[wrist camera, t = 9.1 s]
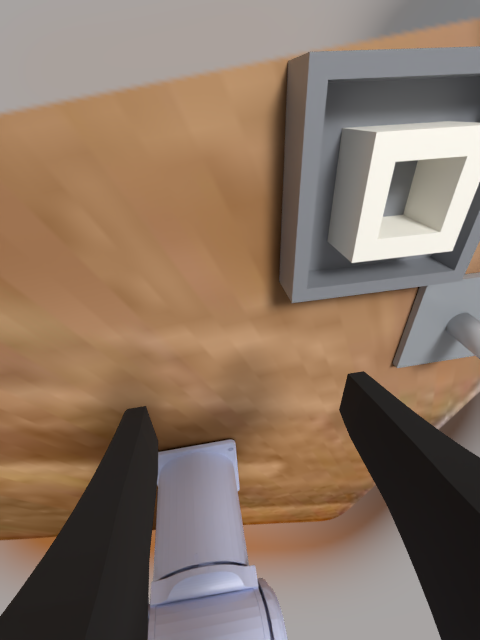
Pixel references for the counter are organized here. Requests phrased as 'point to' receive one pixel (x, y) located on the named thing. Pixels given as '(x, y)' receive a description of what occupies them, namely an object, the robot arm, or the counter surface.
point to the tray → (392, 109)
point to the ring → (424, 197)
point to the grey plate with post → (442, 323)
